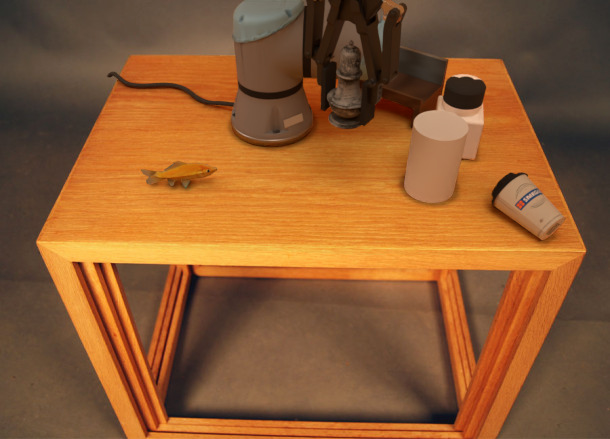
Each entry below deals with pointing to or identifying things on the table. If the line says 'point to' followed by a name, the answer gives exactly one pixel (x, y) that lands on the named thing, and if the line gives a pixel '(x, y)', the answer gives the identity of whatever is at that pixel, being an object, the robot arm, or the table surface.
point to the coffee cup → (526, 205)
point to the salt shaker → (347, 90)
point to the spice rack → (416, 81)
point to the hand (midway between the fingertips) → (347, 113)
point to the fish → (180, 173)
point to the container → (465, 107)
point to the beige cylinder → (435, 155)
